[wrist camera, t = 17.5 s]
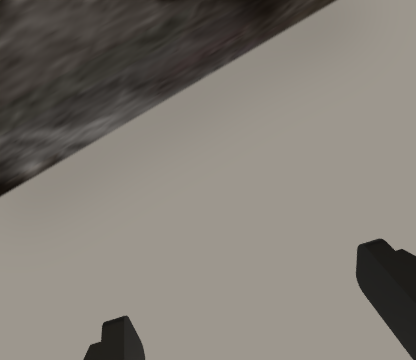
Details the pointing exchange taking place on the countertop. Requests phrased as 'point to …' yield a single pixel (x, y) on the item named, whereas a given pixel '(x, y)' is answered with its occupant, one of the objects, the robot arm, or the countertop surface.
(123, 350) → the robot arm
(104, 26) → the countertop surface
